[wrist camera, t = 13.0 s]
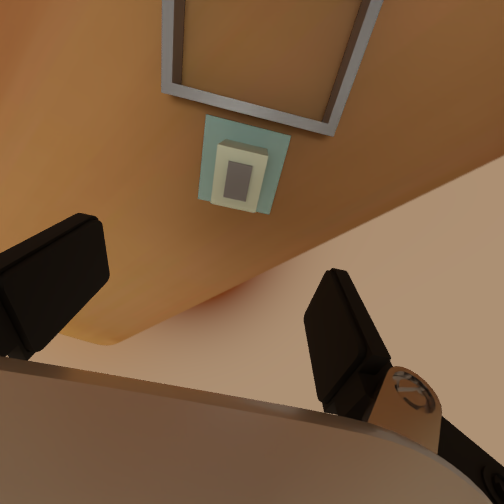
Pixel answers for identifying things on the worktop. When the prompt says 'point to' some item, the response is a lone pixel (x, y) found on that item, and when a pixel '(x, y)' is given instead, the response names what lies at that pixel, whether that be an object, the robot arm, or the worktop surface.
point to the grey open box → (172, 85)
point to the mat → (246, 134)
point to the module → (238, 175)
